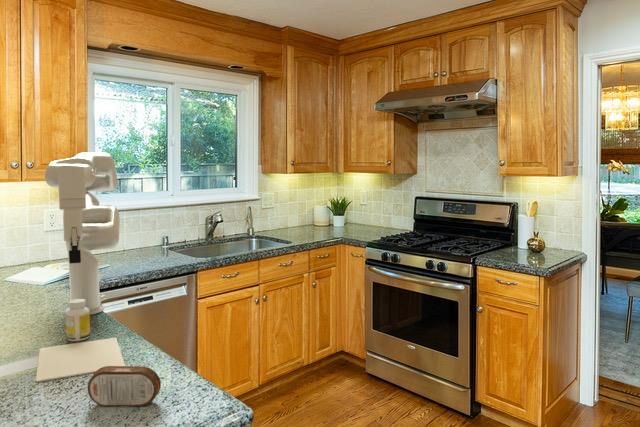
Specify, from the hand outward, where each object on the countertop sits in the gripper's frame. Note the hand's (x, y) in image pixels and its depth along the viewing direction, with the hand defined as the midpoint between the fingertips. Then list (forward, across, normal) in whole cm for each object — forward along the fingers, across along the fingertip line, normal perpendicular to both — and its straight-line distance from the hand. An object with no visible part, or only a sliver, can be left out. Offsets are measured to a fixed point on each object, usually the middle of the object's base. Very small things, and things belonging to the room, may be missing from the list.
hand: (75, 262), depth 153 cm
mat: (+22, +26, 0) cm, 34 cm away
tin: (+22, +60, +8) cm, 64 cm away
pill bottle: (+22, +9, 0) cm, 24 cm away
